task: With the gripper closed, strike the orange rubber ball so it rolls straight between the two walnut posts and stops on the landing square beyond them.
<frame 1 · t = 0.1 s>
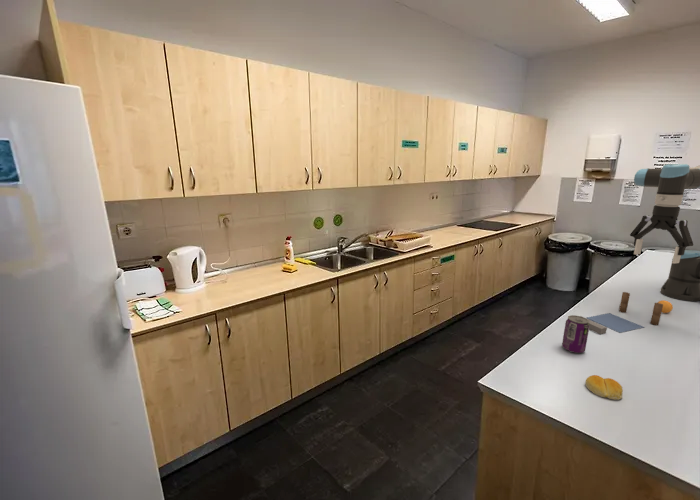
hand: (655, 258, 135), 28 cm above the counter, tool pointing down, fingers open, 13 cm apart
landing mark: (614, 322, 141), on the counter
ball: (664, 306, 149), on the counter
stopper: (589, 327, 137), on the counter
post 2: (654, 324, 140), on the counter
post 1: (622, 311, 151), on the counter
bread roll: (603, 391, 100), on the counter
beverage can: (573, 349, 122), on the counter
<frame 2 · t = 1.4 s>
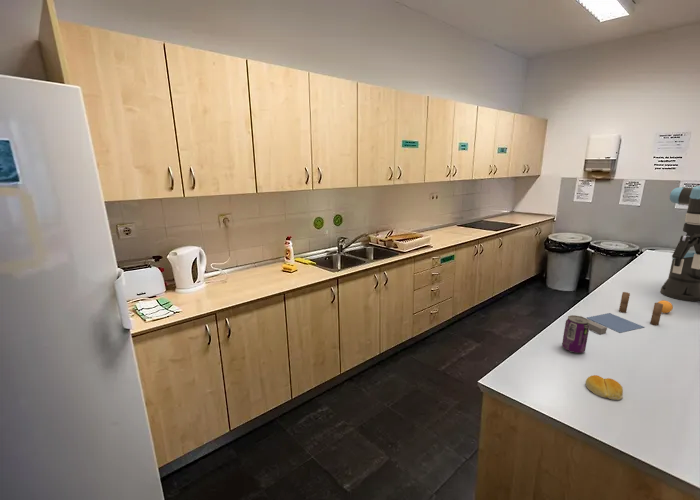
hand: (686, 270, 148), 19 cm above the counter, tool pointing down, fingers open, 13 cm apart
nothing on the counter moved.
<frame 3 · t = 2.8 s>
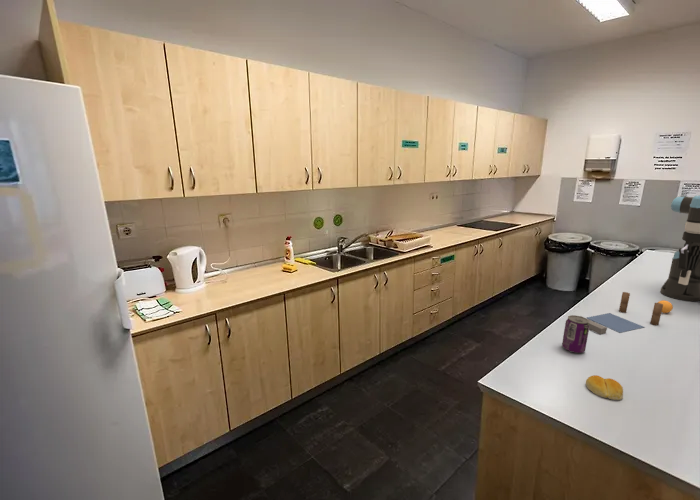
hand: (682, 283, 150), 12 cm above the counter, tool pointing down, fingers closed
nothing on the counter moved.
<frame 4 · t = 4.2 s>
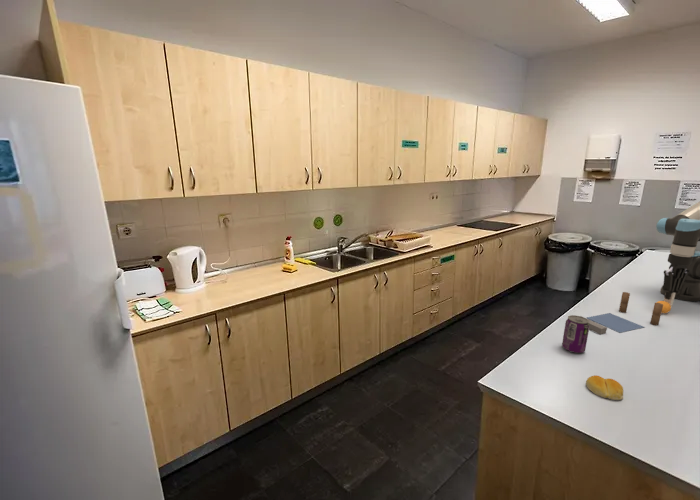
hand: (667, 305, 150), 3 cm above the counter, tool pointing down, fingers closed
ball: (662, 307, 149), on the counter
everything else where it was.
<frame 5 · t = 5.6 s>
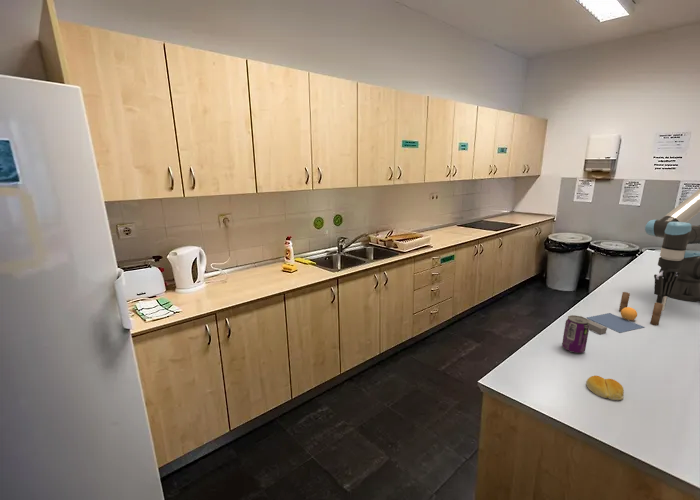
hand: (659, 309, 149), 2 cm above the counter, tool pointing down, fingers closed
ball: (628, 313, 143), on the counter
everything else where it was.
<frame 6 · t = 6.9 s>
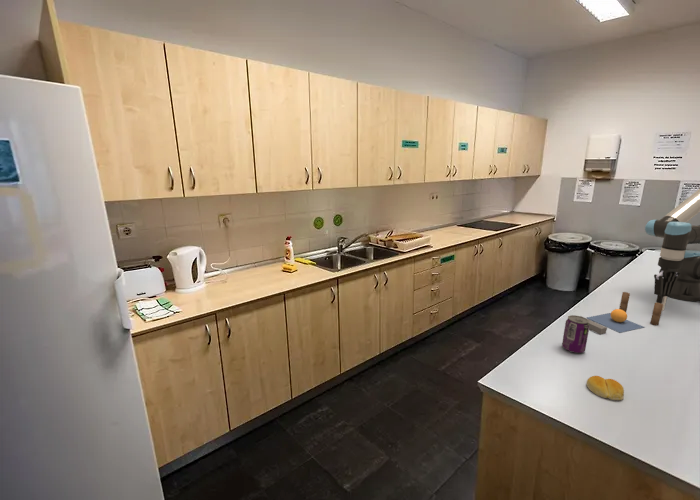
hand: (659, 309, 149), 2 cm above the counter, tool pointing down, fingers closed
ball: (618, 315, 142), on the counter
everything else where it was.
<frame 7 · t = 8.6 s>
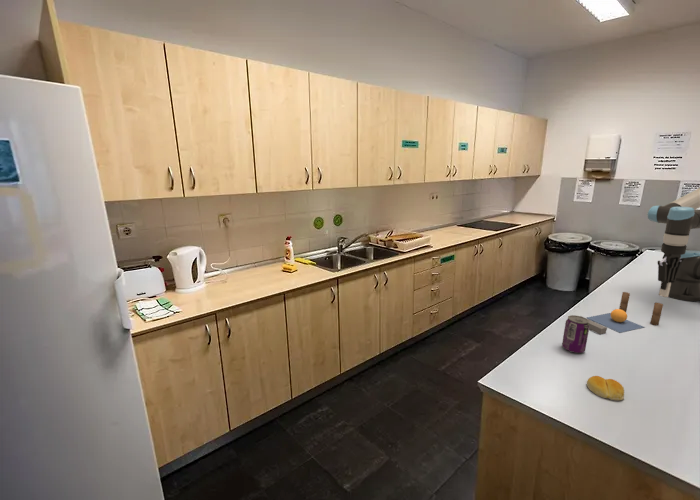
hand: (663, 295, 147), 8 cm above the counter, tool pointing down, fingers closed
nothing on the counter moved.
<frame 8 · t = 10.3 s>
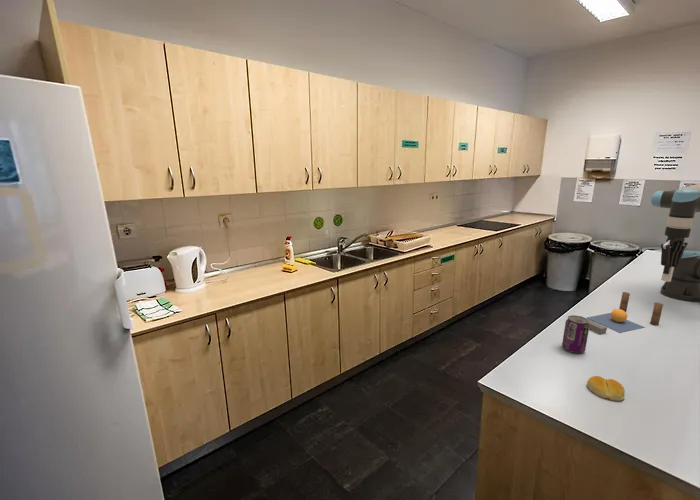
hand: (665, 280, 145), 15 cm above the counter, tool pointing down, fingers closed
nothing on the counter moved.
at the end: ball 2.2 cm from the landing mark (horizontally); ball never touched post 2; ball never touched post 1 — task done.
